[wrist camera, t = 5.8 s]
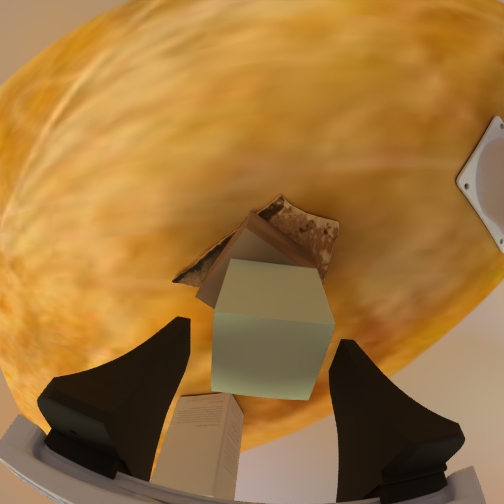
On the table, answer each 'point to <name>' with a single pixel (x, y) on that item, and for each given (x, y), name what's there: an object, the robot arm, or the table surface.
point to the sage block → (270, 330)
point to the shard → (287, 221)
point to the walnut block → (253, 254)
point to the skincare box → (202, 447)
